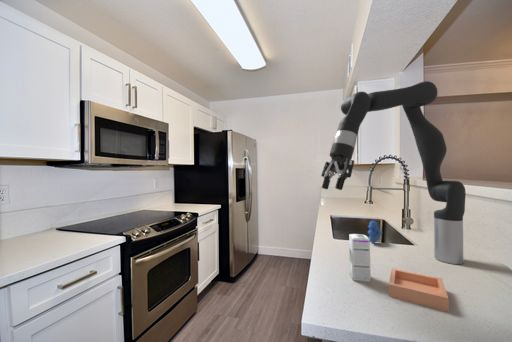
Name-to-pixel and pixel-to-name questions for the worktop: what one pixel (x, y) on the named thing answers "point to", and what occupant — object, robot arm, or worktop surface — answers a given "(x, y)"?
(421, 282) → the dish
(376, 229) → the grapes
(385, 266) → the worktop surface
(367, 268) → the syrup box
